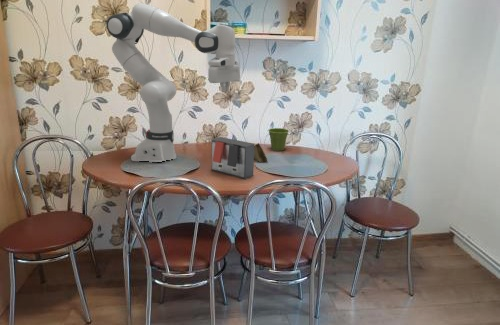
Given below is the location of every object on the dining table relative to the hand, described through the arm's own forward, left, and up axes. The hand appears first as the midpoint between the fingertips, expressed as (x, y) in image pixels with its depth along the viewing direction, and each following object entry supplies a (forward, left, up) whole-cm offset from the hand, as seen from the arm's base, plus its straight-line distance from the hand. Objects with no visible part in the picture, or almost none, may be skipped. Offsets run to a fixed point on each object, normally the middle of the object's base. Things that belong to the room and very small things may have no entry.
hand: (225, 91), depth 168 cm
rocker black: (+4, -23, -29) cm, 37 cm away
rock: (+18, +5, -35) cm, 40 cm away
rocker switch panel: (+4, -16, -35) cm, 39 cm away
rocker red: (-3, -19, -29) cm, 35 cm away
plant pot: (+30, +26, -35) cm, 53 cm away
